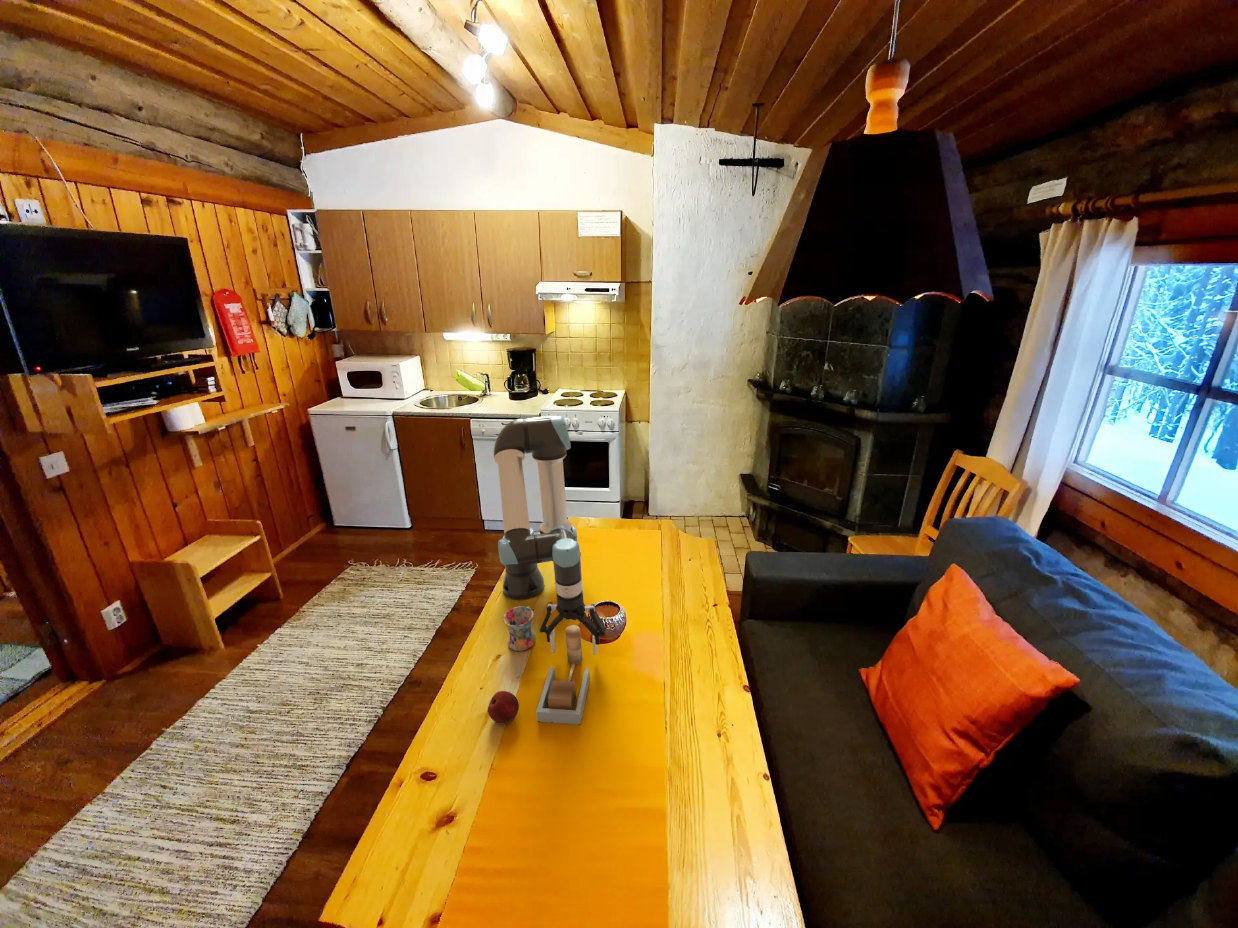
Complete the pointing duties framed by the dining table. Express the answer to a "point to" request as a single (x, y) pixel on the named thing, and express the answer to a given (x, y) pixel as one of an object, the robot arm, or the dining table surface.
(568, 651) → the tethered block
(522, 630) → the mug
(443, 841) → the dining table surface
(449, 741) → the dining table surface
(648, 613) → the dining table surface
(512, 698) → the apple
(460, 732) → the dining table surface
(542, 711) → the grey u-shaped frame
